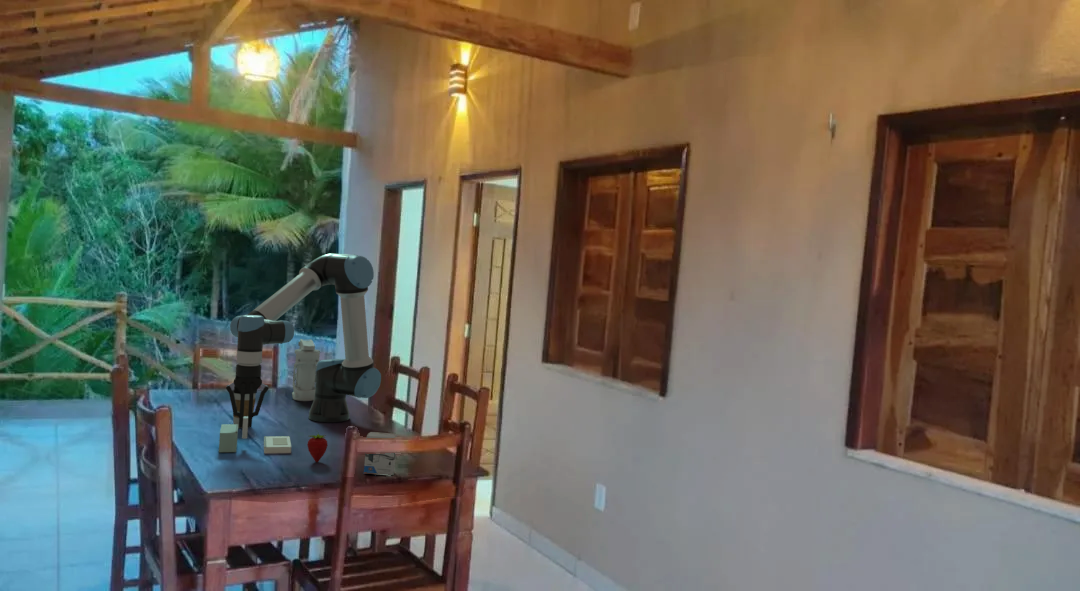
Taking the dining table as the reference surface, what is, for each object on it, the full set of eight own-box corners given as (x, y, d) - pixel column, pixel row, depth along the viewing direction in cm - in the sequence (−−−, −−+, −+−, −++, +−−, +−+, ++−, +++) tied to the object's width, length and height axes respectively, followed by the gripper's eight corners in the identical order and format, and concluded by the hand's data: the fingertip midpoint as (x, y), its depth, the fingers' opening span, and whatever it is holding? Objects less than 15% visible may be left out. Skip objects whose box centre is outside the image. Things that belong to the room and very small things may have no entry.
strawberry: (308, 465, 229) (310, 432, 228) (304, 459, 236) (306, 427, 235) (328, 464, 231) (330, 432, 231) (324, 458, 238) (326, 426, 238)
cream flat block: (289, 442, 254) (289, 436, 254) (290, 453, 241) (291, 446, 241) (263, 442, 252) (264, 436, 252) (264, 453, 239) (264, 446, 238)
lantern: (318, 401, 327) (322, 343, 326) (293, 401, 323) (297, 342, 322) (314, 395, 339) (317, 339, 338) (289, 395, 334) (293, 338, 333)
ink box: (362, 475, 224) (365, 435, 223) (366, 470, 229) (368, 431, 228) (392, 477, 224) (395, 437, 224) (395, 472, 229) (397, 433, 229)
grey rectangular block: (237, 442, 248) (238, 423, 248) (236, 452, 237) (237, 432, 236) (220, 442, 246) (221, 423, 246) (218, 452, 235) (219, 432, 235)
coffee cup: (246, 430, 267) (248, 387, 266) (224, 427, 268) (227, 384, 268) (259, 425, 275) (262, 384, 274) (238, 422, 277) (241, 381, 276)
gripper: (270, 362, 248) (266, 434, 249) (227, 361, 243) (223, 434, 244) (270, 366, 241) (266, 440, 242) (226, 365, 236) (221, 440, 237)
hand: (244, 437), depth 243 cm, fingers closed
